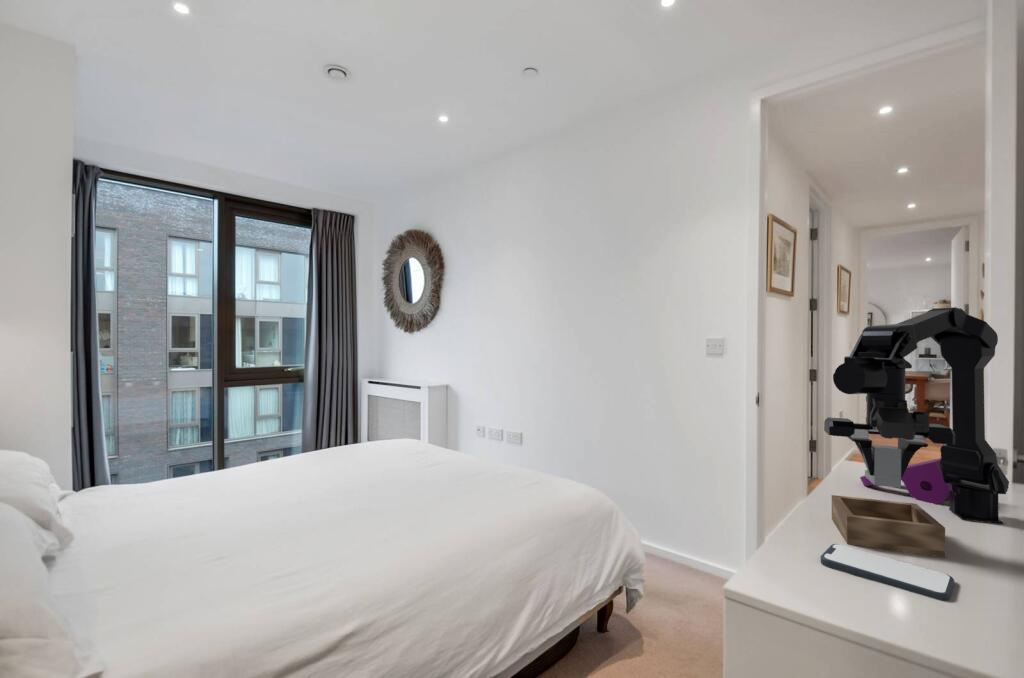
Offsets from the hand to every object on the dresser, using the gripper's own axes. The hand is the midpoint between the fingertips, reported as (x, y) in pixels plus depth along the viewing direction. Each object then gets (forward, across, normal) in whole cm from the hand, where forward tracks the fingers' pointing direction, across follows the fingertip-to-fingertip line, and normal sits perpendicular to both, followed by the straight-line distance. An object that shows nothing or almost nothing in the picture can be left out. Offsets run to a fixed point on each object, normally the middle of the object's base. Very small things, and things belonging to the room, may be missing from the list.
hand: (885, 476), depth 91 cm
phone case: (+12, -4, -16) cm, 21 cm away
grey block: (+1, 0, +2) cm, 2 cm away
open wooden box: (+11, 0, +1) cm, 11 cm away
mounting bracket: (+11, +13, +34) cm, 38 cm away
